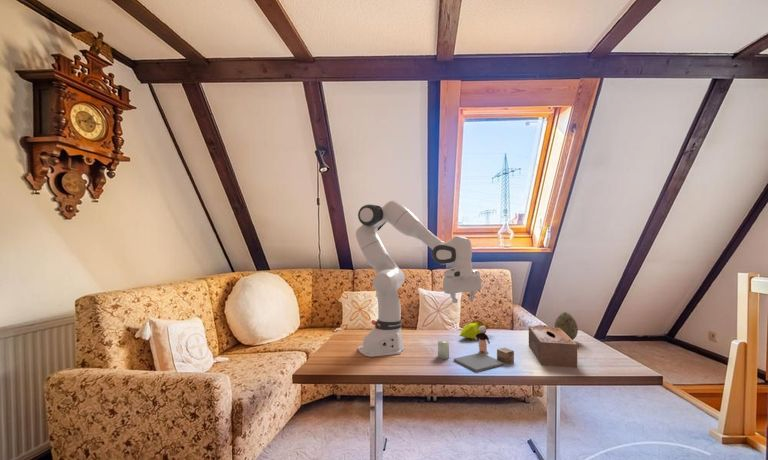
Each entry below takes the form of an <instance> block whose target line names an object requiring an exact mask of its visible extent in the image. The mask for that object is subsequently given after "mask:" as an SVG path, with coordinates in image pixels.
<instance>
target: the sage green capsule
mask: <svg viewBox="0 0 768 460" xmlns="http://www.w3.org/2000/svg"><path fill="white" fill-rule="evenodd" d="M437 357H438V359H441V360H447V359H450V341H449V340H446V339H439V340H438V341H437Z"/></svg>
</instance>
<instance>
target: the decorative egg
mask: <svg viewBox="0 0 768 460" xmlns="http://www.w3.org/2000/svg"><path fill="white" fill-rule="evenodd" d="M553 328H560V329H561V330H563V331H564V332H565V333H566V334H567V335H568V336H569V337H570V338H571V339H572V340H573V341H574V339H576V338H577V336H578V330H579V329H578V325H577V322H576V320H575V318H574V317H573V315H571V314H570V313H569V312H566V311H563V312H561V313H559V315H558V316H557V317H556V319H555V322H554V326H553Z"/></svg>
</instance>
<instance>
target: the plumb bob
mask: <svg viewBox="0 0 768 460" xmlns="http://www.w3.org/2000/svg"><path fill="white" fill-rule="evenodd" d="M493 325H494V322H486V321H482V320H480V319H474V320H472V321H471V322H470V323H468V324H465V325H464V326H463V327H462V330H461V331H460V334H459V337H463V338H466V339H470V340H473V339H474V340H475V337H476V335H477V334H478V333H481V332H480V331H479V330H478V329H479V328H480V326H485V327H486V330H485V333H484V334H486V333H487V330H488V329H489V327H490V326H493Z"/></svg>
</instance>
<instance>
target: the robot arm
mask: <svg viewBox="0 0 768 460" xmlns="http://www.w3.org/2000/svg"><path fill="white" fill-rule="evenodd" d="M357 216H358V217H357V219H358V220H359V223H361V226H359V227H357V229H356V231H355V238H356V241H357V243H358V246H359V248H360V250H361V252H362V254H363V256H364V258H365V259H366V262H367V264H368V265H369V267H371V268H372V269H373V270H374V271H375V272H376V274H375V275H374V276H373V278H372V286H373V288H374V290H375V294H376V298H377V305H378V306H377V308H378V309H377V310H378V313H377V315H378V317H377V319H376V320H374V319H372V320H371V322H370V323H371V324H372V325H374V328H373V329H371V330H370V331H369V332H368V333H367V334H365V336H364V337H363V340H362V345H360V346H358V348H357V349H358V352H359V353H360V354H361V355H363V356H366V357H369V358H371V357H373V358H374V357H382V356H392V355H399V354H401V353H402V352H403V351H404V349H405V347H404V343H403V342H404V341H403V336H402V328H403V327H402V324H403V323H402V317H401V315H402V313H401V308H402V306H401V305H402V304H401V301H400V299H399V294H398V289H399V288H401V287H402V285H403V284H404V283H405V280H406V276H405V272H404V271H403V270H401V268H400V267H399V266H398V265H397V263H396V262H395V261H394V259H393V258H392V257H391V255H390V254H389V252H388V250H387V249H386V247H385V246H384V243H383V242H382V239H381V238H380V236H379V233H378V231H380V230H381V229H382V228H383V226H384V225H385V224H386V223H388V224H390V225H391V226H392V227H393V228H394V229H395V230H397V231H398V232H400V233H402V234H403V235H404V236H407V237H411V238H415V239H418V240H419V241H421V242H423V243H424V244H425V245H426V246H428V247H429V248H430V249H431V258H432V260H433V261H434V262H435V264H439V265H447V264H452V267H451V268H448V269H447V270H445V271H443V276H444V278H443V281H442V291H443V293H444V294H447V295H450V297H451V299H452V304H456V303H458V298H456V294H458V293H460V294H461V293H470V294H469V296H468V302H469V301H470V302H473V301H474V297H475V294H476V291H481V289H482V286H483V285H482V279H481V273H480V272H479V271H478V270H473V263H472V257H473V247H472V242H471V240H470V239H469V238H467V237H464V236H459V235H457V236H453V237H452V238H450V239H449V240H447V241H444V240H442V239H440V238H439V237H438V236H436V235H435V234H434V233H432V232H431V230H429V229H428V228H426V226H425V225H424V223H422V222H421V221H420V219H419V218H418V217H417V216H416V215H415V214H414V213H413V212H412V211H410V210H409V209H408V208H407V207H406V206H404V205H403V204H402V203H399V202H397V201H395V200H390V201H388V202H386V203H385V204H384V205H383V206H380V205H376V204H365V205H362V206H361V207H360V209H359V210H358V213H357Z"/></svg>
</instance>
